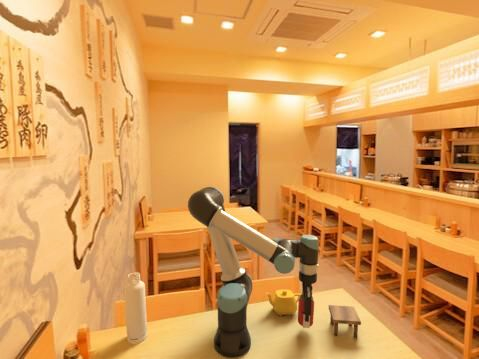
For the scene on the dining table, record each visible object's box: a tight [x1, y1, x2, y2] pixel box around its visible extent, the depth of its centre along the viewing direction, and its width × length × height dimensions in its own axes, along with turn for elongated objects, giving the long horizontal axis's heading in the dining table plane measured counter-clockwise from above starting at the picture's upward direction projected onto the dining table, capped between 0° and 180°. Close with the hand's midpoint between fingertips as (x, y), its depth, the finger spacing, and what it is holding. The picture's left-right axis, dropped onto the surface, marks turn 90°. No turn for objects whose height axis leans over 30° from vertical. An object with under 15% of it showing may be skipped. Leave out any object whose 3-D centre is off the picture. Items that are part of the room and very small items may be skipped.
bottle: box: [123, 271, 148, 345], centre depth 116 cm, size 8×8×28 cm
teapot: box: [265, 289, 302, 317], centre depth 135 cm, size 18×11×11 cm, turn 95°
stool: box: [328, 304, 362, 339], centre depth 121 cm, size 11×11×8 cm
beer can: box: [297, 293, 315, 327], centre depth 120 cm, size 7×7×12 cm
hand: (305, 321), depth 121 cm, fingers closed on beer can, 7 cm apart
